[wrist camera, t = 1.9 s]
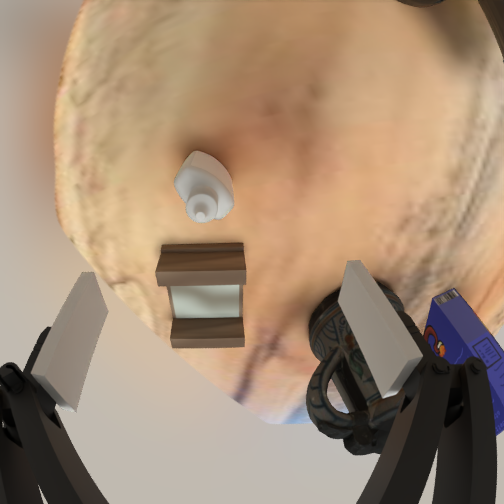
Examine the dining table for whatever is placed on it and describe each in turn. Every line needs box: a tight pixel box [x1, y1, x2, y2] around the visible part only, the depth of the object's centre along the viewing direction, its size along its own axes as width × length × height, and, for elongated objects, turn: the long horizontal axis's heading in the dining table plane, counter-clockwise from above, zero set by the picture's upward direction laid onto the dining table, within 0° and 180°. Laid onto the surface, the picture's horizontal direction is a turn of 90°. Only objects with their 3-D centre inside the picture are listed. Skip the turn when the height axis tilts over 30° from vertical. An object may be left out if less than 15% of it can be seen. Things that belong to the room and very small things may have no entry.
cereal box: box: [423, 288, 504, 436], centre depth 38 cm, size 22×6×30 cm, turn 16°
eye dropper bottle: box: [174, 151, 234, 223], centre depth 24 cm, size 4×6×12 cm
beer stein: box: [306, 282, 405, 455], centre depth 34 cm, size 16×19×25 cm
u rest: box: [155, 243, 246, 348], centre depth 36 cm, size 14×10×5 cm
